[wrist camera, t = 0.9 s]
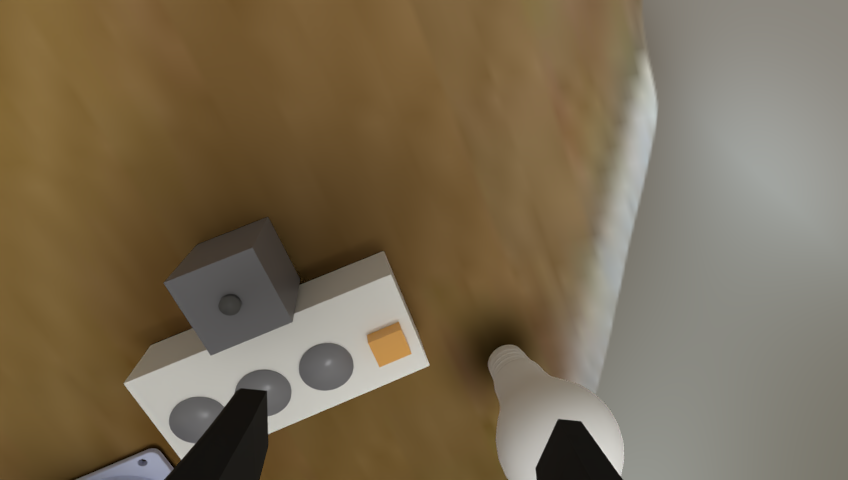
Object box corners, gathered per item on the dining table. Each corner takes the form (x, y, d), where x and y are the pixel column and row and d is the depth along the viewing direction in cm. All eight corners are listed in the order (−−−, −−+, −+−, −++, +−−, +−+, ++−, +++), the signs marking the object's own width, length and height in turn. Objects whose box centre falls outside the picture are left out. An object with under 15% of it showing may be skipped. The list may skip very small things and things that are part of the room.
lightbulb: (454, 321, 28) (523, 454, 18) (545, 306, 29) (659, 424, 19) (459, 400, 30) (524, 560, 20) (544, 384, 31) (647, 528, 21)
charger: (245, 327, 26) (225, 384, 21) (196, 244, 24) (161, 285, 19) (311, 300, 26) (306, 350, 21) (268, 216, 24) (251, 249, 19)
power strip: (205, 422, 27) (183, 480, 23) (150, 345, 25) (115, 394, 21) (418, 333, 28) (432, 374, 24) (383, 250, 26) (393, 280, 22)
